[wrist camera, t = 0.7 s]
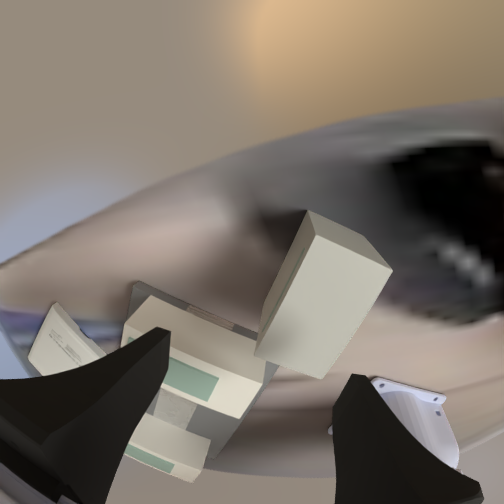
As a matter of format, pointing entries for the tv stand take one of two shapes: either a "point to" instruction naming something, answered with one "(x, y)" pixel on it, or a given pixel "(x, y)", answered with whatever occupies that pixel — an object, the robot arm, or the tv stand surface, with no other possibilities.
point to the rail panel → (193, 383)
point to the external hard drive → (62, 344)
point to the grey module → (319, 296)
